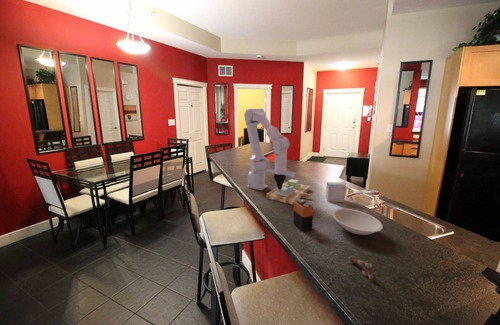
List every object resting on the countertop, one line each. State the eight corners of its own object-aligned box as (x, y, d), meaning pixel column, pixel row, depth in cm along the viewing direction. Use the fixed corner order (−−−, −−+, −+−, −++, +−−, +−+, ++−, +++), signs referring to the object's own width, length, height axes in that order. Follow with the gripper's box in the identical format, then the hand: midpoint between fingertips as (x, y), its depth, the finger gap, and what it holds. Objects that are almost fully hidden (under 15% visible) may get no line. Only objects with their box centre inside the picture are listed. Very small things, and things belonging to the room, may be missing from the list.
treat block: (287, 191, 120) (287, 181, 118) (290, 189, 123) (291, 179, 122) (295, 193, 117) (295, 182, 116) (298, 190, 121) (298, 180, 120)
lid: (273, 193, 109) (273, 188, 108) (282, 188, 117) (282, 183, 117) (287, 197, 105) (287, 191, 104) (295, 190, 113) (295, 186, 113)
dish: (322, 223, 86) (323, 211, 84) (351, 217, 90) (352, 206, 89) (358, 249, 69) (360, 235, 68) (391, 240, 74) (393, 227, 73)
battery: (302, 221, 87) (303, 197, 85) (312, 229, 81) (314, 204, 79) (292, 223, 86) (293, 199, 83) (302, 232, 79) (303, 206, 77)
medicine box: (341, 199, 110) (343, 182, 108) (344, 202, 105) (346, 185, 103) (325, 198, 111) (326, 181, 109) (327, 201, 106) (328, 184, 104)
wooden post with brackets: (371, 282, 55) (368, 262, 56) (351, 273, 63) (348, 256, 63) (377, 281, 55) (374, 261, 56) (356, 272, 63) (354, 255, 64)
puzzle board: (266, 198, 111) (266, 193, 110) (286, 185, 130) (286, 181, 129) (302, 206, 101) (302, 201, 100) (317, 191, 120) (318, 187, 119)
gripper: (263, 162, 110) (263, 188, 113) (291, 166, 102) (289, 193, 105) (270, 159, 116) (270, 184, 119) (296, 163, 108) (295, 189, 111)
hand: (279, 188), depth 112 cm, fingers closed
